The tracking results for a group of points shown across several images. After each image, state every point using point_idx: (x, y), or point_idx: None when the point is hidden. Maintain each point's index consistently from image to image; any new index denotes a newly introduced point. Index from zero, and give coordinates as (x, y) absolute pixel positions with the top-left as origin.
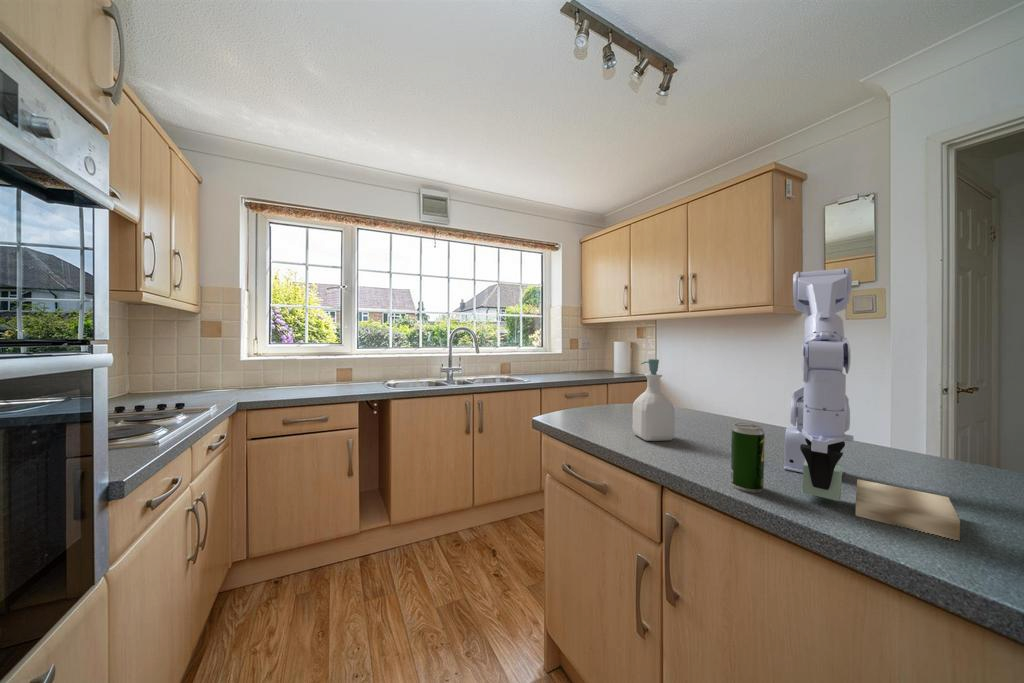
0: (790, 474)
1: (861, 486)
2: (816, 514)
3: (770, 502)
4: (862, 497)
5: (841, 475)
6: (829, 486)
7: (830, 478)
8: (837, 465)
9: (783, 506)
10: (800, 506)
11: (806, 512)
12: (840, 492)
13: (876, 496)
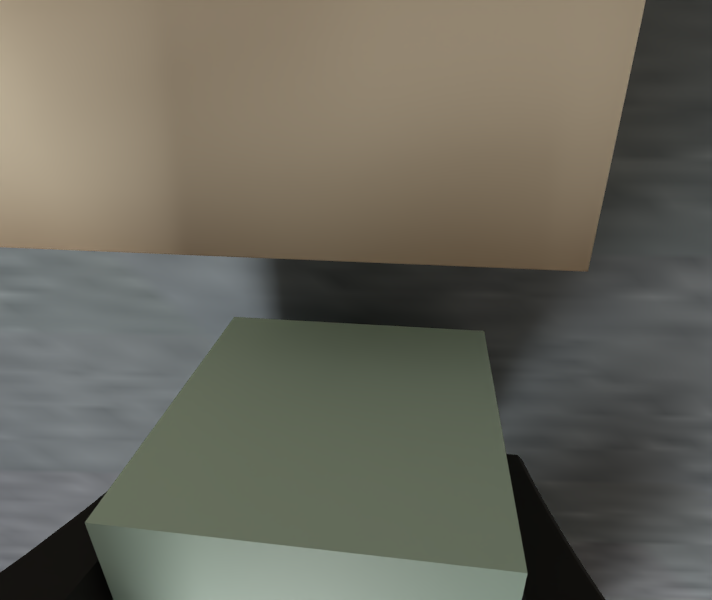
0: (15, 505)
1: (129, 216)
2: (692, 413)
3: (628, 588)
4: (536, 216)
5: (202, 427)
6: (528, 478)
7: (579, 561)
8: (177, 565)
9: (656, 544)
10: (589, 478)
11: (689, 456)
12: (375, 350)
13: (381, 85)
